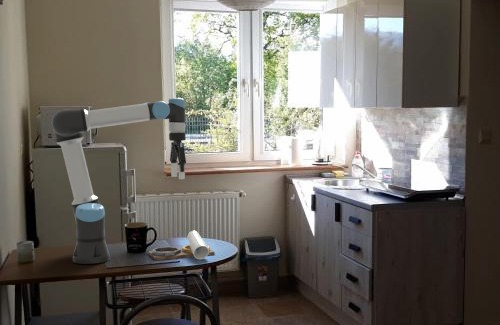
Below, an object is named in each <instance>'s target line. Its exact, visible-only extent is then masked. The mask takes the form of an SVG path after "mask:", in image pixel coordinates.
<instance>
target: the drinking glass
mask: <svg viewBox="0 0 500 325" xmlns="http://www.w3.org/2000/svg"><path fill="white" fill-rule="evenodd" d="M199 233H200V232H198V231H196V230H191V231H189V233H188V234H187V236H186V237H187V238H186V239H187V241H188V245H190V248H191V251H192V253H193V255H194V257H193V258H195V259H197V260H200V261H201V260H205V259H206V258H207V257H208V256H209V255H208V254H209V249H208V247H207V245H208V244H207V243H206V242H205V241H204V239H203V238H202V237H201V235H200V234H199Z"/></svg>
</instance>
